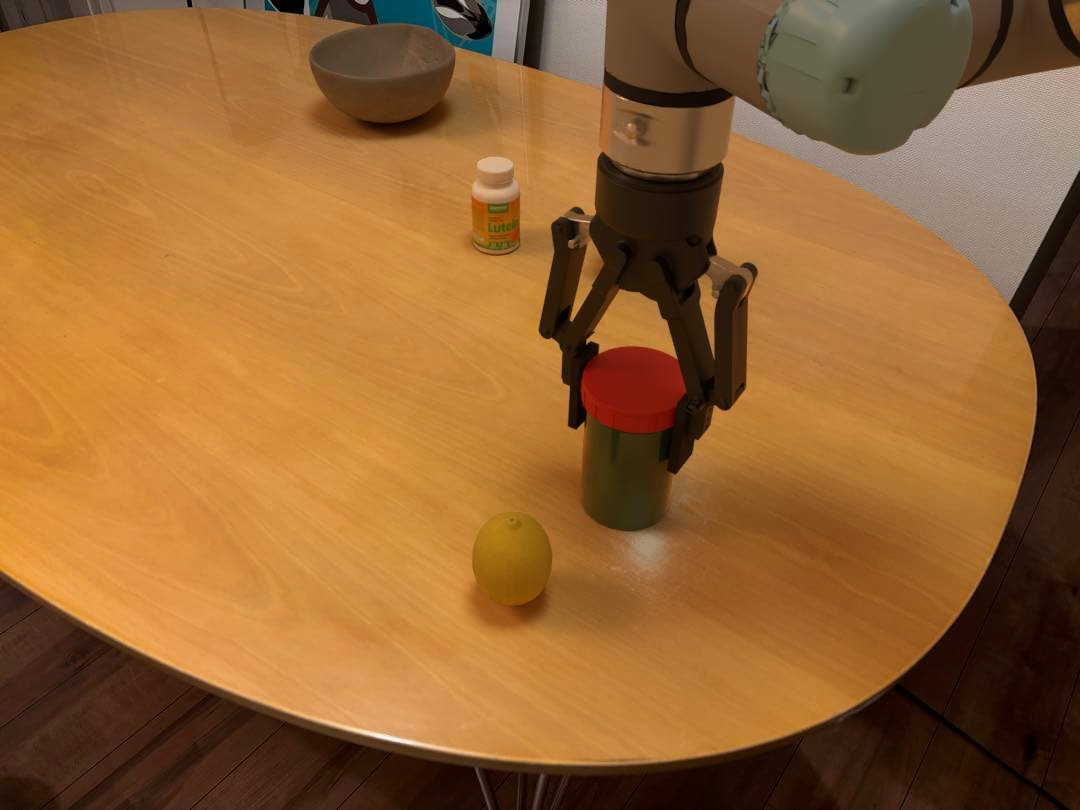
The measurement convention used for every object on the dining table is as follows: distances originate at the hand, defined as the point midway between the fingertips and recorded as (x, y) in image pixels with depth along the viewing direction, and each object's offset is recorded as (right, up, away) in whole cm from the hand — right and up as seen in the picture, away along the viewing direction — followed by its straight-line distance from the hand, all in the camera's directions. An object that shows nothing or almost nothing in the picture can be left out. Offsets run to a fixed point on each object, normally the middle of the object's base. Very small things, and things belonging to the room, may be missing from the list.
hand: (629, 439), depth 67 cm
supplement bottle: (-12, +21, +35) cm, 42 cm away
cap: (0, +4, -3) cm, 5 cm away
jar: (0, -5, +4) cm, 6 cm away
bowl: (-29, +45, +62) cm, 82 cm away
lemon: (-9, -11, -3) cm, 15 cm away
